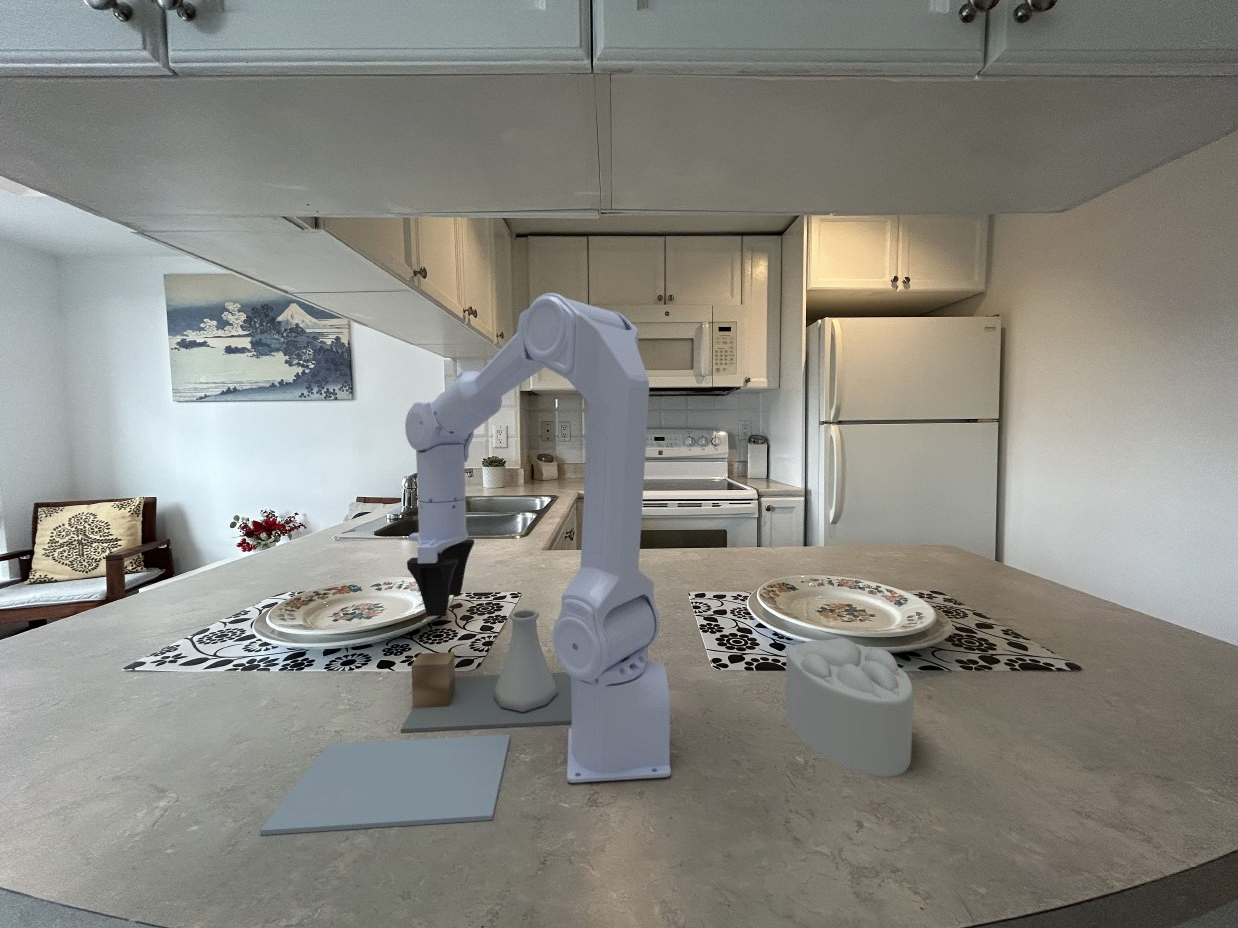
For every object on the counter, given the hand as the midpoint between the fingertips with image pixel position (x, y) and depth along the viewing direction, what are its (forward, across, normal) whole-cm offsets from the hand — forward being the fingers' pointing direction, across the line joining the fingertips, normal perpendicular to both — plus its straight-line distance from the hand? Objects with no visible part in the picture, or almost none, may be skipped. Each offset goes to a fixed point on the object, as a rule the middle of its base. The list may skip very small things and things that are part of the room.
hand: (445, 604), depth 65 cm
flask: (+9, +7, +11) cm, 16 cm away
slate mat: (+9, +20, +1) cm, 22 cm away
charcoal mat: (+9, +7, +7) cm, 14 cm away
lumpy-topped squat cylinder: (+10, +17, +45) cm, 49 cm away
